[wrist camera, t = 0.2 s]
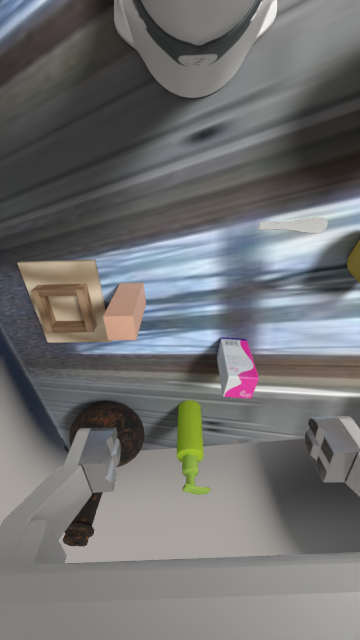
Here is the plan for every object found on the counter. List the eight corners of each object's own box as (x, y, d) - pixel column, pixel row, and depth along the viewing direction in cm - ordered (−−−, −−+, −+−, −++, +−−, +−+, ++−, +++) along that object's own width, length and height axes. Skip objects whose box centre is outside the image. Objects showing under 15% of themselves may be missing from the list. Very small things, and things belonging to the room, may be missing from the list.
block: (119, 283, 50) (103, 316, 40) (143, 282, 50) (132, 316, 39) (123, 303, 52) (108, 340, 42) (145, 303, 52) (136, 339, 42)
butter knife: (325, 235, 44) (330, 216, 42) (183, 236, 45) (182, 218, 43) (324, 234, 44) (329, 216, 43) (183, 235, 45) (182, 217, 43)
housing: (19, 261, 48) (9, 268, 45) (95, 259, 47) (89, 266, 44) (49, 340, 57) (42, 349, 55) (112, 339, 57) (108, 349, 54)
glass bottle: (159, 420, 72) (146, 551, 48) (110, 440, 77) (77, 566, 54) (117, 381, 64) (77, 514, 40) (66, 406, 69) (4, 537, 46)
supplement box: (216, 357, 59) (221, 397, 50) (220, 336, 56) (227, 374, 46) (241, 359, 59) (251, 399, 50) (247, 338, 56) (260, 377, 47)
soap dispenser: (199, 418, 71) (203, 500, 54) (175, 412, 70) (172, 495, 53) (207, 404, 68) (214, 487, 51) (182, 398, 67) (181, 481, 50)
